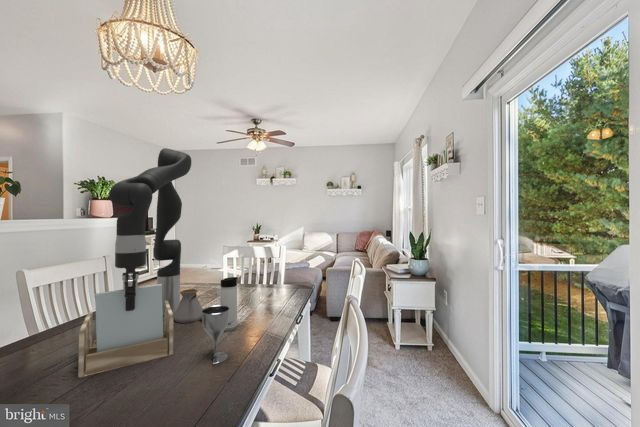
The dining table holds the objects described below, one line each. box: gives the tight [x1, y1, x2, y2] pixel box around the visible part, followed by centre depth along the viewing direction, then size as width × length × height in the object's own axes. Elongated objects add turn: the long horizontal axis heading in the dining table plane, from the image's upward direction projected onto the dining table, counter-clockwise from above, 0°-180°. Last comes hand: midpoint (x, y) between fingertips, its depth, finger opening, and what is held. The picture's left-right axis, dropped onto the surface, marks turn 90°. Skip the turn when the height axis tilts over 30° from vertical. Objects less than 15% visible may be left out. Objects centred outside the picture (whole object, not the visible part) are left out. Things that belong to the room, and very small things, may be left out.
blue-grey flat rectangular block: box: [94, 283, 164, 353], centre depth 81 cm, size 2×16×18 cm, turn 124°
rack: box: [77, 301, 174, 378], centre depth 86 cm, size 18×22×14 cm
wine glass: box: [201, 304, 229, 365], centre depth 85 cm, size 8×8×15 cm
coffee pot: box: [173, 288, 204, 324], centre depth 111 cm, size 21×12×15 cm, turn 33°
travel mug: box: [219, 276, 239, 332], centre depth 108 cm, size 6×7×20 cm
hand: (130, 308), depth 81 cm, fingers closed
